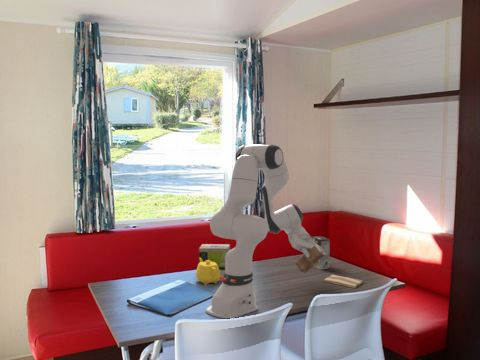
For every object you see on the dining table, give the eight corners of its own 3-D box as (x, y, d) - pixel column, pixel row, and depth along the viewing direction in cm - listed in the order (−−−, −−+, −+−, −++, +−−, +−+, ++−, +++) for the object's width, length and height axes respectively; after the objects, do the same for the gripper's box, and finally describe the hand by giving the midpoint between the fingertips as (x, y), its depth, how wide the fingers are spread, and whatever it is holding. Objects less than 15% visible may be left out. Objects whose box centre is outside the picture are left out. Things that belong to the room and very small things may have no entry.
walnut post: (299, 271, 222) (320, 250, 218) (295, 263, 225) (315, 244, 221) (305, 273, 225) (325, 253, 221) (301, 266, 228) (321, 246, 224)
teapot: (189, 278, 237) (189, 257, 236) (209, 275, 242) (209, 254, 241) (205, 288, 221) (205, 266, 220) (226, 285, 227) (226, 263, 226)
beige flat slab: (354, 287, 222) (354, 285, 222) (323, 281, 232) (323, 279, 232) (362, 282, 230) (362, 280, 230) (332, 276, 240) (332, 274, 240)
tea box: (230, 271, 249) (230, 243, 247) (228, 277, 239) (228, 248, 237) (202, 270, 250) (202, 243, 249) (198, 276, 240) (198, 247, 239)
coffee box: (309, 265, 260) (310, 236, 258) (319, 264, 262) (320, 235, 261) (319, 269, 251) (320, 240, 250) (329, 268, 254) (330, 238, 253)
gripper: (291, 227, 224) (304, 248, 214) (315, 238, 237) (329, 259, 228) (282, 236, 226) (295, 257, 216) (306, 247, 239) (320, 267, 229)
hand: (312, 258), depth 222 cm, fingers closed on walnut post, 4 cm apart
